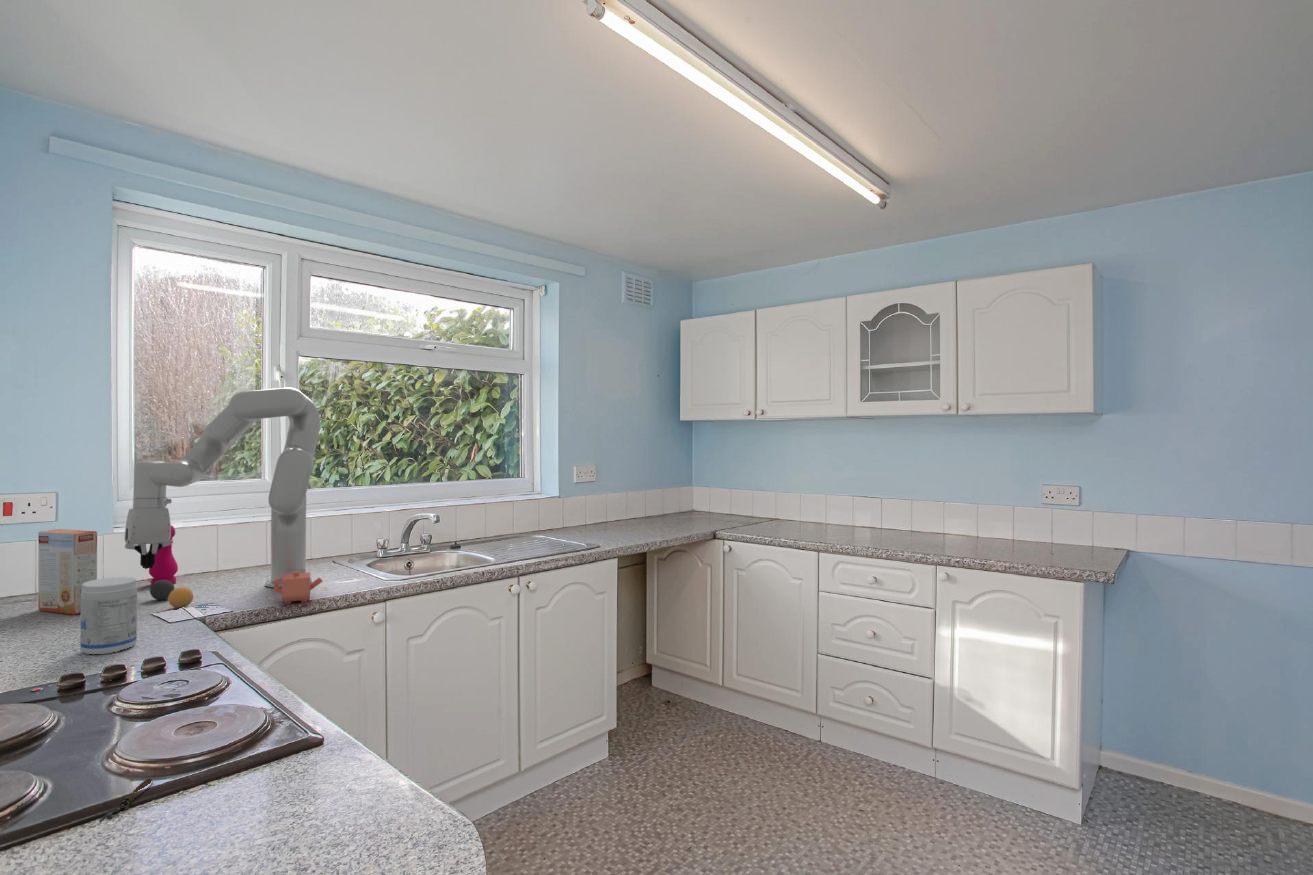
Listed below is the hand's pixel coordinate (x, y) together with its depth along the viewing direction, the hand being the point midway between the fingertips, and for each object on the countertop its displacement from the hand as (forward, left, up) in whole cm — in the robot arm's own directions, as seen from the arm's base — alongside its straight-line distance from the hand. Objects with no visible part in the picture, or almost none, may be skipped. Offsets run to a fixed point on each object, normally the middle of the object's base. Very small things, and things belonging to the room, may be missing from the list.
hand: (147, 567), depth 196 cm
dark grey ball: (-10, -1, -5) cm, 11 cm away
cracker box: (-4, +18, -8) cm, 20 cm away
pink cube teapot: (-40, -24, -8) cm, 48 cm away
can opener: (-128, +38, -8) cm, 134 cm away
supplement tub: (-51, +21, -8) cm, 56 cm away
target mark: (-32, -1, -8) cm, 33 cm away
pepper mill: (+13, -8, -8) cm, 17 cm away
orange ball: (-24, -1, -5) cm, 24 cm away
